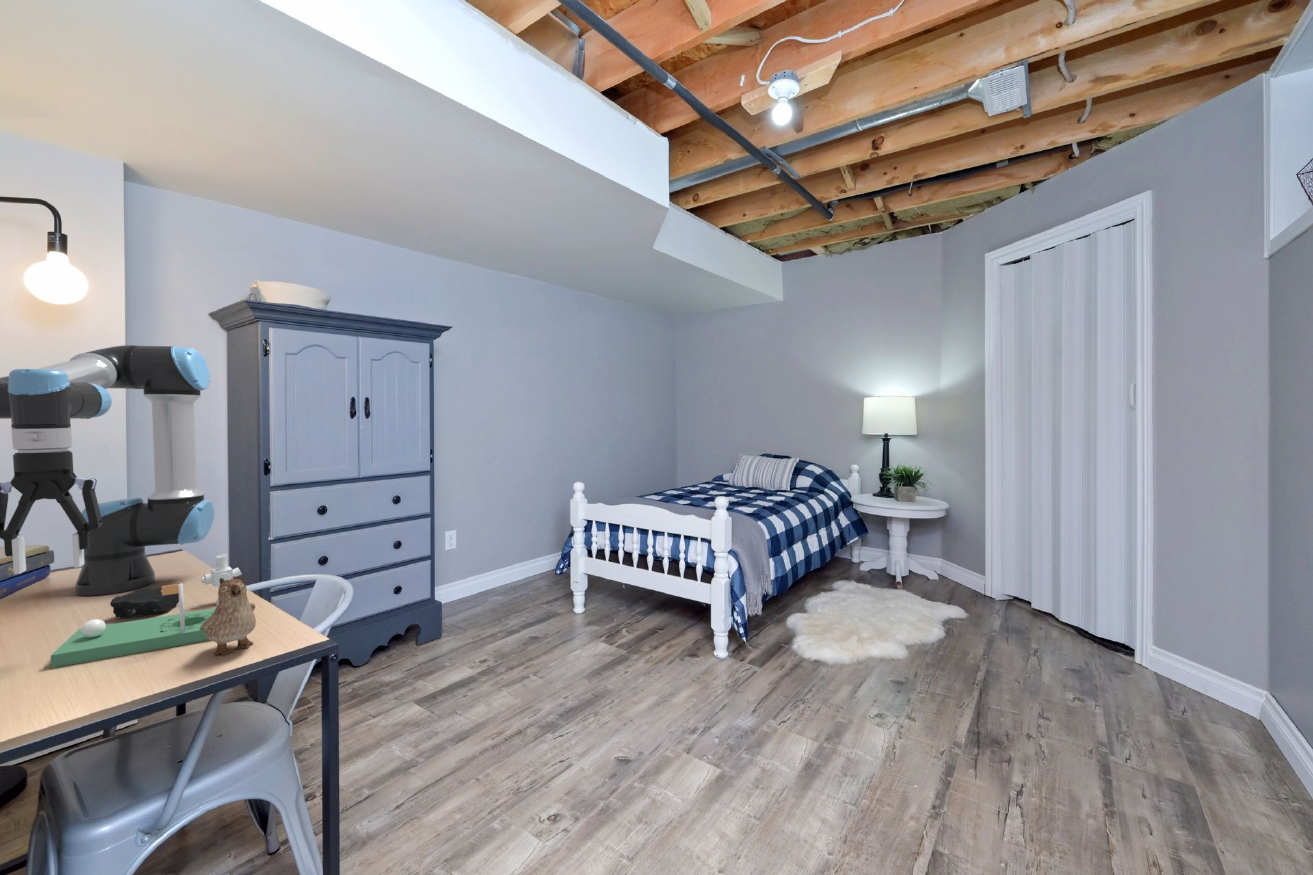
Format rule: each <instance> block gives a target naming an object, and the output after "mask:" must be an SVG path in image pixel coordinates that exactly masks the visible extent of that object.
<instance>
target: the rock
mask: <svg viewBox="0 0 1313 875" xmlns="http://www.w3.org/2000/svg"><path fill="white" fill-rule="evenodd" d="M109 604H110V607H111V608H112V609H113V610H112V613H113V614H114V615H115V616H114V617H115V618H119V619H129V618H134V617H146V616H154V615H156V616H157V615H162V614H167V613H168V612H170V611H172V609H174V608H176V606H177V605H179V593H177V594H169V595H162V586H161V587H160V586H159V587H151V588H150V587H145V588H144V587H141V588H137V589H135V590H133V592H130V593H128V594H124V595H121V596H115V597H114V598H112V599H111V601H110V603H109Z"/></svg>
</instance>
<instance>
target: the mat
mask: <svg viewBox="0 0 1313 875" xmlns="http://www.w3.org/2000/svg"><path fill="white" fill-rule="evenodd" d="M161 587H162V595H169V594H177V593H179V602H178V607H179V611H178V612H179V613H176V614H170V615H164V616H163V615H162V616H155V617H149V618H144V619H137V620H130V621H124V622H123V621H122V622H117V623H109V624H106V629H105V631H104V632H103V633H102V634H101V635H99V636H97V637H93V638H88V637H85V636H83V635H82V633H81V628H79V629H77V631H75V632H74V633H73V634H72V635H71V636H70V637H69V638H68V639H67V640H65V641H64V642H63V643H62V644H61V645H60V646H59V647H58V648H56V650H54V651H53V652H52V654H50V668H51V669H54V668H59V667H65V666H71V665H77V664H83V663H89V662H95V661H100V660H105V659H111V658H116V657H123V656H128V655H135V654H139V653H145V652H151V651H152V652H153V651H156V650H163V649H169V648H174V647H178V646H185V645H186V646H187V645H190V644H196V643H201V642H207V641H210V640H209V639H207V638H206V635H205V630H199V628H200V627H201V626H202V624H203V623H204V622H205V621H206V620H207V619H209V618H210V617H211V615H212V614H213V613H214V611H215V609H216V607H215V608H207V609H202V610H196V611H190V612H189V611H188V612H185V602H184V601H185V600H184V583H175V584H168V585H161Z"/></svg>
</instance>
